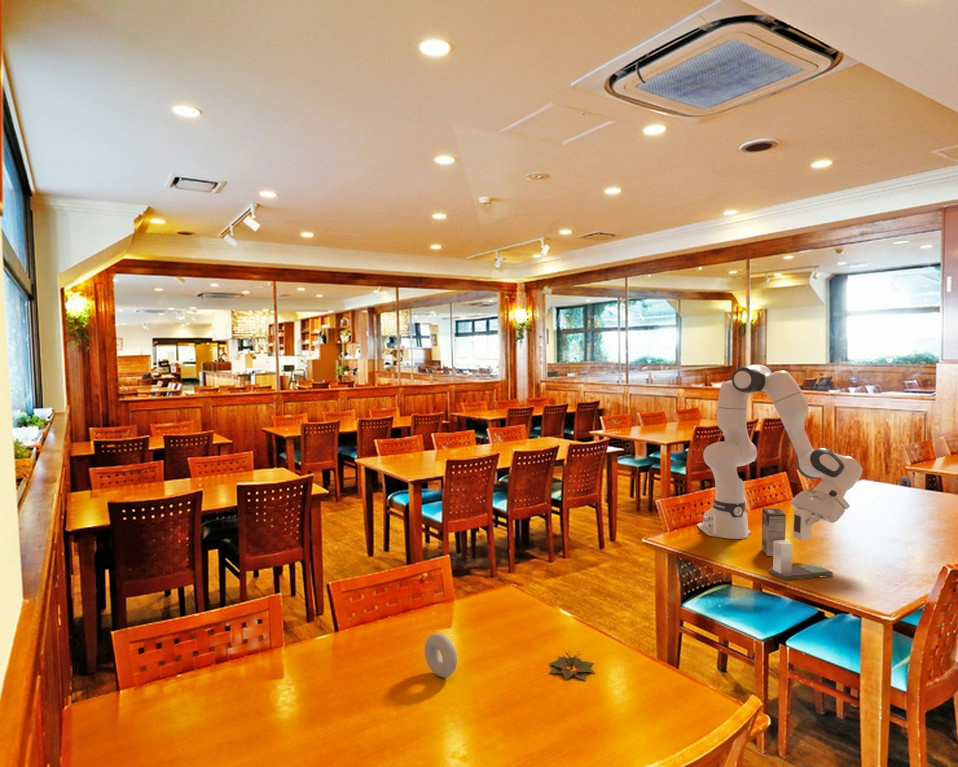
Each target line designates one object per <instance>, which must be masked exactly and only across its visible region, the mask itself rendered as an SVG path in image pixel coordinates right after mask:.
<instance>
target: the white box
mask: <svg viewBox="0 0 958 767" xmlns="http://www.w3.org/2000/svg"><path fill="white" fill-rule="evenodd" d="M812 517H813V515H812V512H809V511H806V510H797V509H794V510H793V530H792V533H793V536H792V537H793V538H795V539H798V540H799V541H811V539H812V538H811V537H812V525H811V526H809V525H807V524H806V523H805V521H807V519H811V518H812Z"/></svg>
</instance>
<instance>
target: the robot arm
mask: <svg viewBox="0 0 958 767" xmlns="http://www.w3.org/2000/svg"><path fill="white" fill-rule="evenodd" d="M759 392H764V393H766V394H767V395H768V396H769V399H770V400H771V402H772V405H773V407H774V408H775V410H776V412H777V415H778V416H779V418H780V420H781V422H782V424H783V427H784V429H785V433H786V435H787V437H788V439H789V442H790V444H791V448H793V451H794V454H795V458H796V459H795V460H796V469H797V471H798V472H799V474H800V475H801V476H802V477H804V478H806V479H809V480H817V479H819V478H821V480H820V482H819V483H818V484H817V485H816V486H815V487H814V488H813V489H812V488H808V489H804V490H802V491H800V492H799V493H797V494H796V495H795V496H794V497H793V498H792V499H791V501H790V505H792V507H793V508H794V510H806V511H809V512H812V518H811V519H807V521H805V523H806V524H807V525H809V526H811V527H812V526H813V525H814V524H815V523H817V522H819V521H820V520H823V521H826V522H829V523H831V524H833V523H836V522H838V521H839V519H840V518H841V517H842V516H843V515H844V514H845V512H846V510H848V509H849V508H850V507H851V505H850V504H849V503H848V502H847V500H846V498H844V497H845V495H846V493H847V492H848V491H849V490H851V489H852V488H853V487H854V486H855V485H856V483H857V482H858V481H859V479H860V478H861V477H862V474H863V467H862V465H861V464H860V463H859V461H857V460H856V458H853V457H852V456H849V455H842V454H839V453H835V452H833V451H831V450H830V449H828V448H825V447H821V448H820V447H819V448H816V449H814V448H813V446H812V444H811V442H810V439H809V437H808V435H807V432H806V430H805V429H806V428H805V422H806V418H807V416H808V413H809V410H810V408H809V405H808V400H807V398H806V396H805V394H804V392H803V390H802V389H801V387H800V386H799V384H798V382H797V381H796V379H794V377H793V375H791V373H789V371H786V370H775V371H774V370H773V369H772V368H771V367H770V366H769V365H766V364H762V363H761V364H759V363H758V364H755V363H754V364H749V365H742V366H740V367H739V368H736V370H734V372H733V373H732V376H731V379H730V380H727V381H725V382H723V383H722V384H721V386H720V388H719V392H718V393H719V394H718V398H717V417H716V418H717V420H716V423H717V424H716V425H717V427H718V428H719V429H720V430H721V431H722V433H723V437H724V441H716V442H714V443H711V444H709V445H708V446H706V447H705V448H704V450H703V453H702V454H703V455H702V457H703V460H704V463H705V464H706V465H707V466H708V467H709V468H710V469H711V472H712V474H713V478H714V483H715V485H714V486H715V488H714V489H715V498H712V507H711V508H710V509H709V510H707V511H705V512H704V514H703V517H702V522H699V523H697V525H696V527H697V526H698V528H699V529H700V530H701V531H702V532H703V533H704V534H706V535H707V536H709V537H716V538H723V539H730V540H740V539H746V538H748V537H749V535H750V534H751V530H749V522H748V514H747V512H746V506H747V505H746V501H745V482H744V481H743V479H742V478H740V476H739V475H738V470H737V469H738V468H739V467H743V466H747V465H750V464H751V463H752V462H754V461H755V460H756V459H757V456H758V450H757V447H756V445H755V444H754V443H753V442H752V440H751V439H750V437H749V432H748V428H747V421H748V420H747V416H748V415H747V413H748V411H747V410H748V397H749V396H750V394H754V393H759ZM737 467H738V468H737Z"/></svg>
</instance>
